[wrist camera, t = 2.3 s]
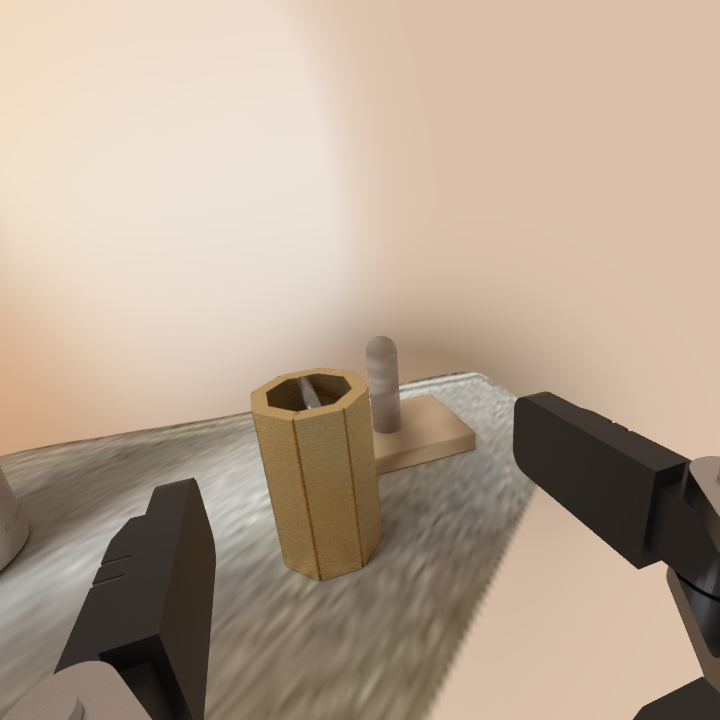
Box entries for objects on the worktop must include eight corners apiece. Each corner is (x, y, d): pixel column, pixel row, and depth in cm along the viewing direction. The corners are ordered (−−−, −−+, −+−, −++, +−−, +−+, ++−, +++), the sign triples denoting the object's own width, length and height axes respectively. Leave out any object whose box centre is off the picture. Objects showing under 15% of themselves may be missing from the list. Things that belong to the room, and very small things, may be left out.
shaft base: (330, 487, 28) (313, 367, 25) (312, 434, 36) (297, 336, 32) (475, 448, 31) (476, 336, 28) (430, 407, 39) (427, 314, 35)
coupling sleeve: (288, 592, 21) (253, 429, 17) (278, 516, 26) (250, 381, 23) (393, 558, 22) (379, 401, 19) (362, 492, 28) (348, 362, 24)
